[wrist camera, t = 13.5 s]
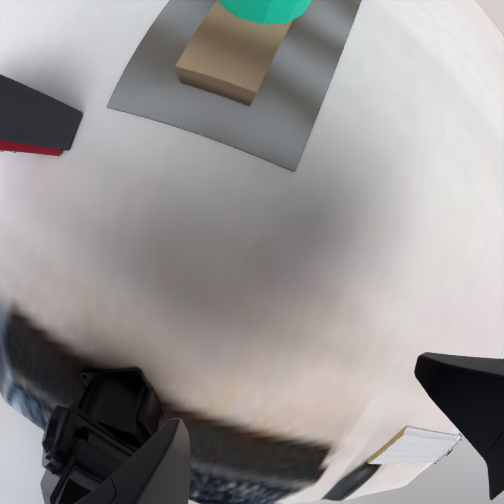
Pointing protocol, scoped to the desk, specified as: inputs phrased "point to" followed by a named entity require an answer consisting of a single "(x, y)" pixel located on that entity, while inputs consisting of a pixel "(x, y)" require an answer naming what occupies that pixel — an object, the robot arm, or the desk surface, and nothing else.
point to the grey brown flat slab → (237, 74)
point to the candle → (266, 10)
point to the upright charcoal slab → (34, 120)
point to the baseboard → (414, 447)
